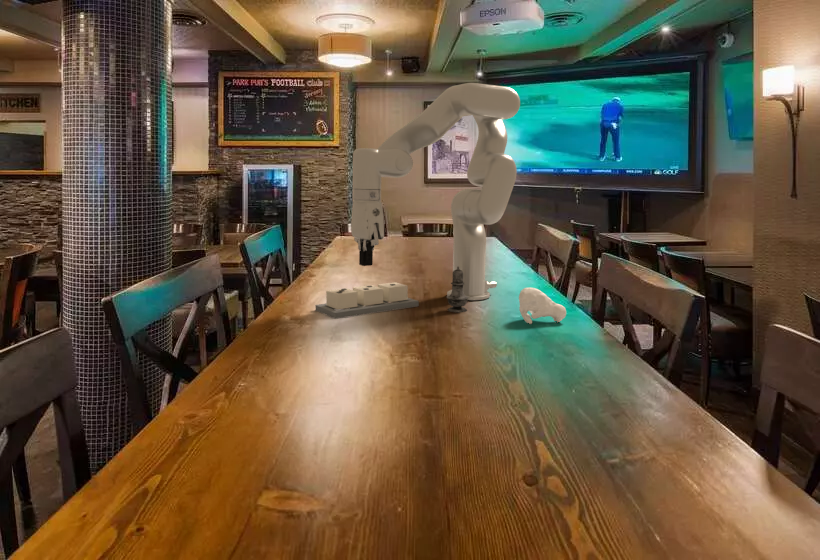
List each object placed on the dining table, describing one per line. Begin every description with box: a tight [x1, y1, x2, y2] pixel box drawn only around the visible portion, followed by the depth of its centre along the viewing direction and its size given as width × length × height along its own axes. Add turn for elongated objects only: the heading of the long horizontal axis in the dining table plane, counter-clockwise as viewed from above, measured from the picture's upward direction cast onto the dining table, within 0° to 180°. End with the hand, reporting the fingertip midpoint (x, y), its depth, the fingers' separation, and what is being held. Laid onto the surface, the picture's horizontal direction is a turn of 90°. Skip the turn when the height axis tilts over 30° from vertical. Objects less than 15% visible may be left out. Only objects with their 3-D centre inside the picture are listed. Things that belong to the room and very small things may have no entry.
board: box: [314, 297, 420, 319], centre depth 168 cm, size 11×26×2 cm, turn 125°
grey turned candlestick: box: [446, 267, 468, 313], centre depth 166 cm, size 6×6×12 cm
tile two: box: [352, 284, 383, 307], centre depth 167 cm, size 6×6×4 cm
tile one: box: [377, 281, 409, 303], centre depth 172 cm, size 6×6×4 cm
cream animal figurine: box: [518, 287, 567, 325], centre depth 154 cm, size 6×8×12 cm
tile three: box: [325, 287, 358, 311], centre depth 163 cm, size 6×6×4 cm
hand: (365, 265), depth 166 cm, fingers closed
